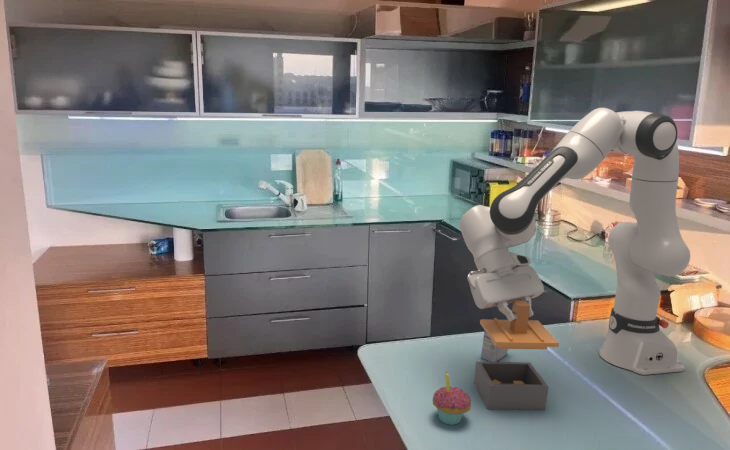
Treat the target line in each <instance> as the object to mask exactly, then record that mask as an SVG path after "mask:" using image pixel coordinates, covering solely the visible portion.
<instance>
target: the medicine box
mask: <svg viewBox="0 0 730 450" xmlns="http://www.w3.org/2000/svg"><path fill="white" fill-rule="evenodd" d="M508 350H509V349H500V348H499V346H495V345H494V343H493V342H492V340H491V339H490V337H489V336H488V334H487V333H486V331H485V330H484V331H483V340H482V346H481V354H480V358H481V359H482V358H483V360H484V361H487V360H488V361H487V362H499V361H500V360H501V359H502V358H503V357H505V356H506V355H508Z"/></svg>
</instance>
